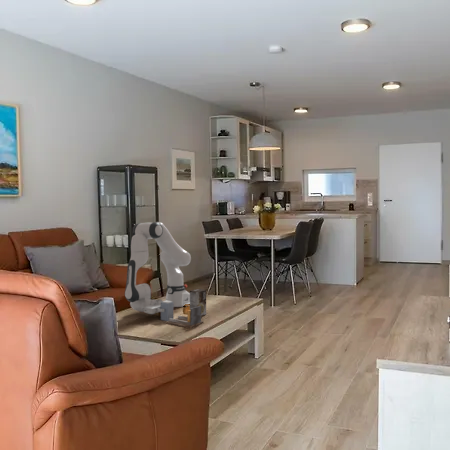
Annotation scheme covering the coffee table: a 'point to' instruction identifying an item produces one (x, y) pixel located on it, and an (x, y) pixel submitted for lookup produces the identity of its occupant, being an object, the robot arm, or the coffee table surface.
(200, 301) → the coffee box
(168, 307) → the block
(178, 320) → the rail dock
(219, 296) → the coffee table surface
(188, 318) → the latch clip
